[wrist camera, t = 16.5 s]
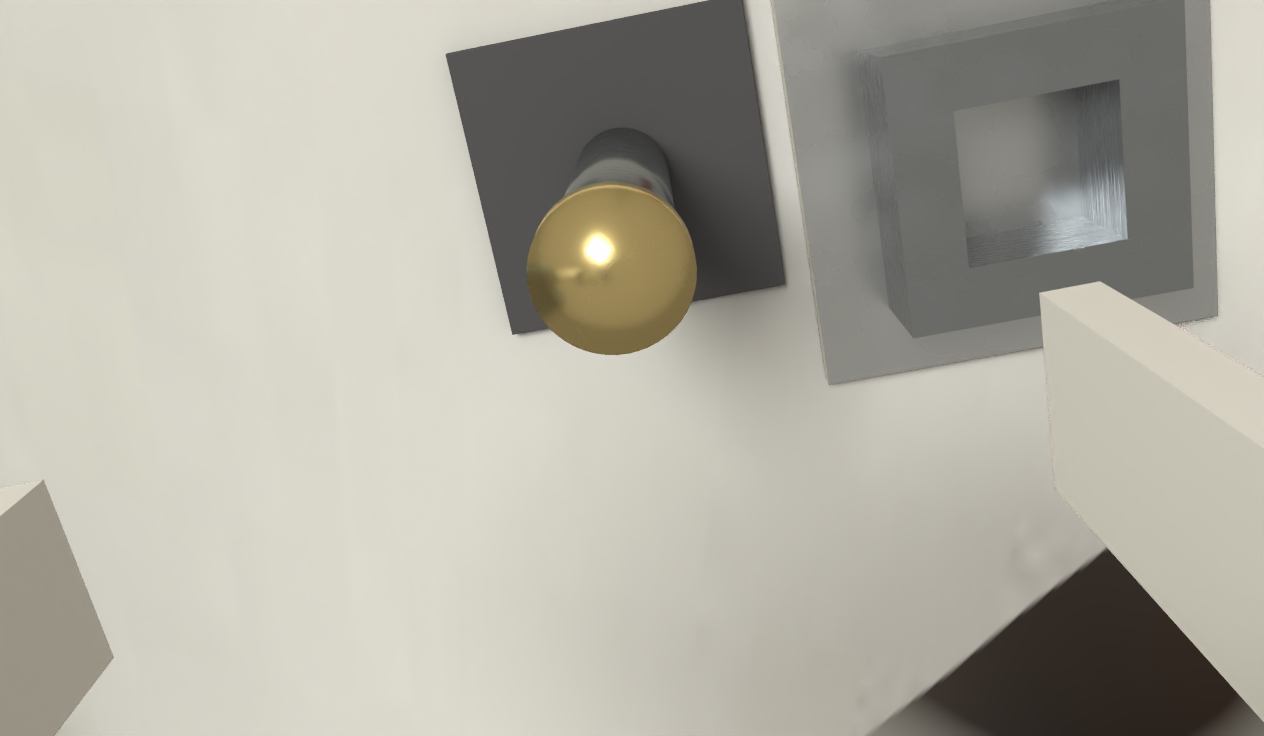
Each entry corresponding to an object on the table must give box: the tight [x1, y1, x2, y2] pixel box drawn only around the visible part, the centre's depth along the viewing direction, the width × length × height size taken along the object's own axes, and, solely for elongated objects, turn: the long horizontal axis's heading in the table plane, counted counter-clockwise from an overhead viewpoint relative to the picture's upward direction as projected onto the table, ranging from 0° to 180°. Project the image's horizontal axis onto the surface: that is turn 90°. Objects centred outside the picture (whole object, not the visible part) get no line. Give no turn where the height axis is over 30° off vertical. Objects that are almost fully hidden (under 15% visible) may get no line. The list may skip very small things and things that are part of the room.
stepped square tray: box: [771, 0, 1218, 385], centre depth 37 cm, size 14×14×4 cm
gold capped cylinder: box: [527, 127, 697, 355], centre depth 32 cm, size 4×4×14 cm
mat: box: [446, 0, 785, 335], centre depth 39 cm, size 10×10×1 cm
